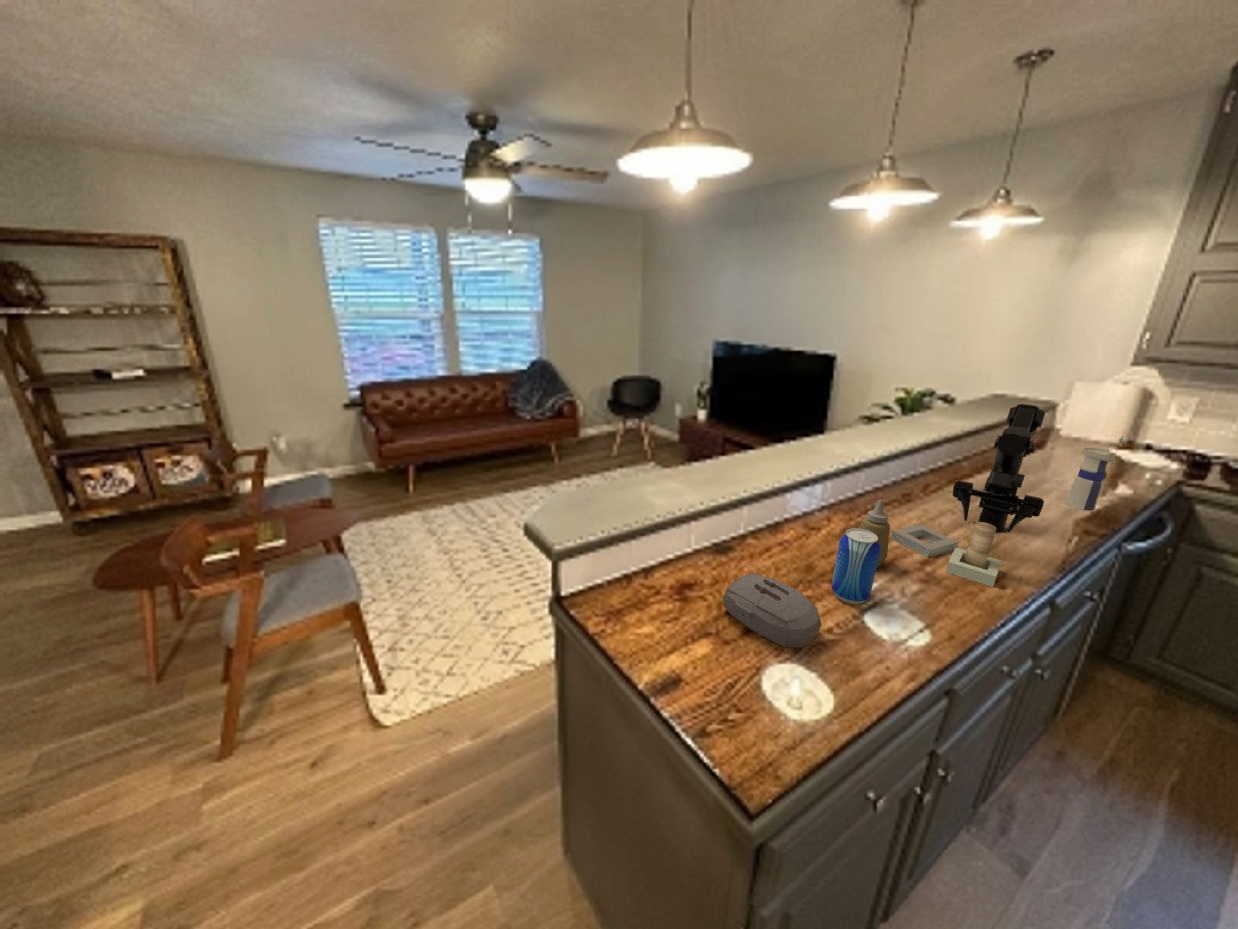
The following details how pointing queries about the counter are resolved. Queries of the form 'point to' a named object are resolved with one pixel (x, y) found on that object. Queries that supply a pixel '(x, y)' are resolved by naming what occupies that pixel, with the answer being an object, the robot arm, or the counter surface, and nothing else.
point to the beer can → (855, 566)
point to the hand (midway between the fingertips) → (986, 526)
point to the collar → (973, 568)
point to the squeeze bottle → (878, 528)
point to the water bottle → (1090, 478)
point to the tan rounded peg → (980, 544)
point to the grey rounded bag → (773, 610)
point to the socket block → (928, 550)
